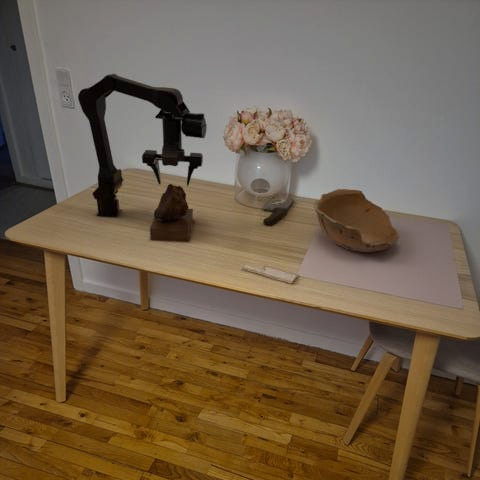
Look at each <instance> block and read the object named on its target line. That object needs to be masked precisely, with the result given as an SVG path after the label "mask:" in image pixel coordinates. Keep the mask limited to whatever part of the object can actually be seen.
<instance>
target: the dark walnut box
mask: <svg viewBox="0 0 480 480" xmlns="http://www.w3.org/2000/svg"><path fill="white" fill-rule="evenodd" d="M193 222H194V208H188V211H187V213H186V215H185V216H182V217H179V218H177V219H173V220H165V221H158V220H156V219H155V218H154V217H153V219H152V222H151V225H150V227H149V235H150V240H151V241H162V242H163V241H164V242H185V243H189V241H190V236H191V231H192V227H193V226H192V225H193Z"/></svg>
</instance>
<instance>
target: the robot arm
mask: <svg viewBox="0 0 480 480" xmlns="http://www.w3.org/2000/svg"><path fill="white" fill-rule="evenodd" d="M114 92H117V93H120V94H123V95H127V96H129V97H133V98H136V99H139V100H143V101H146V102H149V103H150V104H152V106H154V107H156V108H158V109H159V112H158V113H157V114H156V115H155V119H159V120H161V123H162V144H163V145H162V148H161V153H158V150H155V149H146V150H145V151H143V153H142V154H141V162H142V164H146V166H147V167H150V168H151V170H152V171H153V173H154V175H155V178H156V180H157V183H158V185H161V183H162V181H161V180H162V177H161V171H160V170H161V169H160V162H159V161H161V164H162V166H164V167H167V166H172V167H178V165H179V163H188V164H189V165H188V167H187V177H186V187H189V185H190V182H191V178H192V175H193V173H194V171H195V170H197V169H199V167H203V162H204V154H202V153H201V152H190V154H189V155H186V154H185V149H184V148H183V139H182V137H183V136H182V135H184V136H185V137H188V138H196V139H205V138H206V135H207V121H206V118H205V113H203V112H202V113H201V112H200V113H194V112H191V111H190V109H189V107H188V106H187V104H186V103H185V101H184V97H183V94H182V92H181V91H180V90H179V89H177V88H176V87H175V88H174V87H165V86H151V85H148V84H146V83H142V82H139V81H136V80H132V79H129V78H127V77H123V76H120V75H117V74H116V73H110V74H107V75H104V77H103V78H102V79H100V80H99V81H97V82H96V83H94V84H93V85H92V86H89V87H84V88H82V89H81V90H80V91H79V92H78V94H77V99H78V103H79V105H80V109H81V111H82V113H83V114H84V116H85V117H86V118H87V120H88V123H89V127H90V131H91V137H92V142H93V145H94V149H95V154H96V159H97V163H98V173H97V187H96V188H95V190H94V191H93V192H92V196H93V199H94V200H96V206H97V213H96V216H97V217H112V218H113V217H115V218H116V217H117V216H118V214H119V213H120V211H121V209H120V202H119V201H120V200H119V199H118V198H117V194H118V193H119V190H120V189H121V188H122V187H123V182H124V181H125V180H124V178H123V173H122V169H121V168H117V167H116V166H115V163H114V160H113V159H114V158H113V155H112V149H111V145H110V139H109V135H108V130H107V125H106V119H105V116H106V111H107V99H106V98H108V97H109V96H111V94H113V93H114Z"/></svg>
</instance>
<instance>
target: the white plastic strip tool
mask: <svg viewBox="0 0 480 480" xmlns="http://www.w3.org/2000/svg"><path fill="white" fill-rule="evenodd" d="M243 270H244V271H247V272H251V273H254V274H258V275H261V276H264V277H267V278H270V279H274V280H278V281H280V282H284V283H288V284H293V283H294V282H295V281H296V279H297V277H299V275H297V274H293V273H289V272H286V271H283V270H279V269H276V268H272V267H269V266H265V267H263V269H261V268H257V267H254V266H251V265H248V264H245V265H244V266H243Z"/></svg>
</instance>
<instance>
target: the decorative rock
mask: <svg viewBox="0 0 480 480" xmlns="http://www.w3.org/2000/svg"><path fill="white" fill-rule="evenodd" d="M186 198H187V193H186V192H185V190H184V187H182V186H181V185H174V184H172V183H169V184H168V185H167V187H166V189H165V191H164V192H162V194H161V196H160V200H159V202H158V205H157V207H156V208H155V210H154V212H153V219H154V218H155V219H156V220H158V221H165V220H173V219H177V218H179V217H182V216H185V215H186V213H187V211H188V209H189V207H190V206H189V205H188V204H189V203H188V202H187V200H186Z"/></svg>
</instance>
